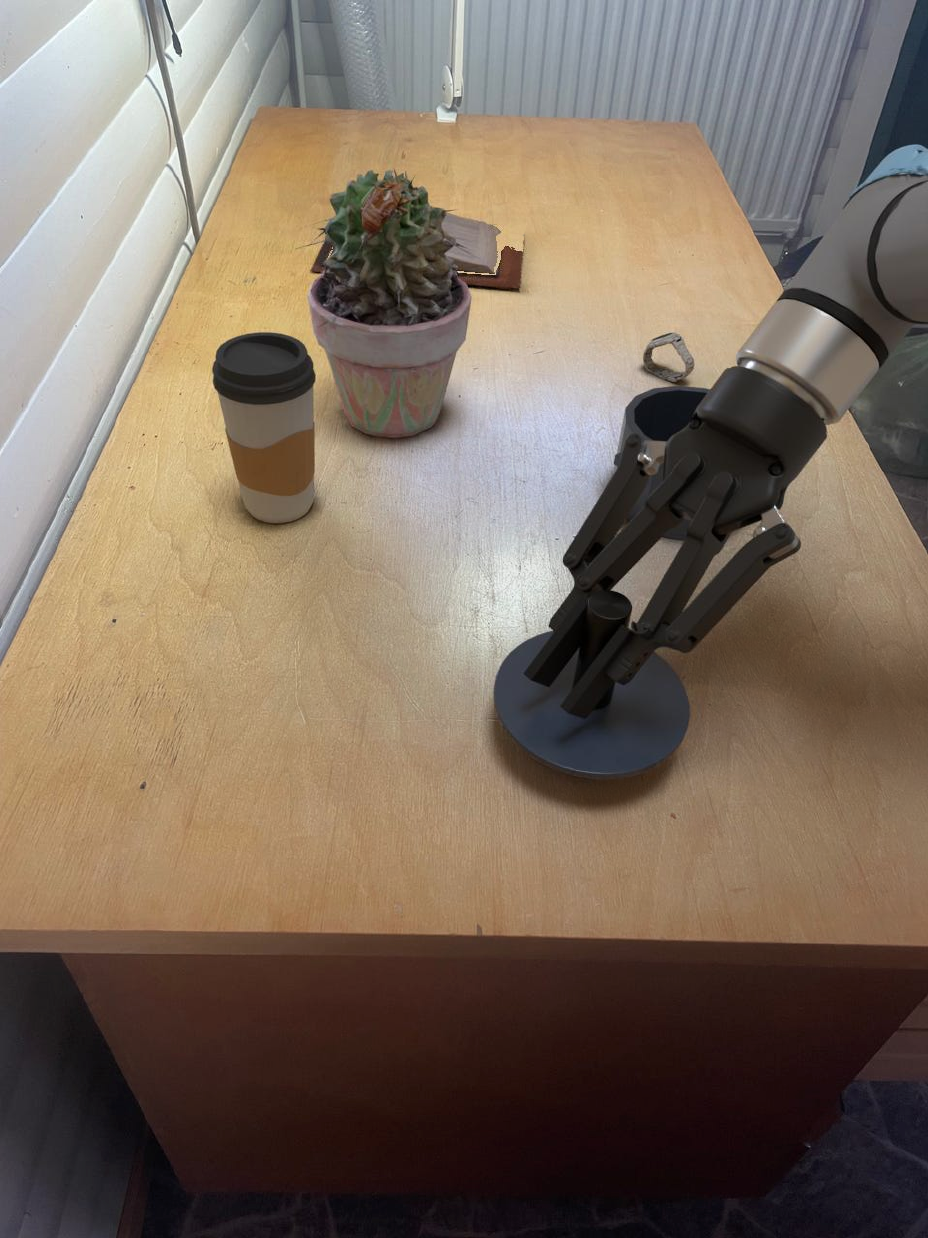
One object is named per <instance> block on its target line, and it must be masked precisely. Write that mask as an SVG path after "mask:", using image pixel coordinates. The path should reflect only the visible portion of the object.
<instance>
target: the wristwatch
mask: <svg viewBox="0 0 928 1238" xmlns="http://www.w3.org/2000/svg"><path fill="white" fill-rule="evenodd" d="M666 345H672V347H673V348H674V350H675V351H676V352H677V354H678V355H679V356H680V358H681V360H682V361H683V363H684V371H681V372H679V371H674V370H670V369H669V368H668V367H665V368H662V367H659V366H658V365H657V364H655V361H654V360H653V358H652V357H653V351H654V350H655V349H656V348H659V347H664V346H666ZM642 362H643V367H644V368H645V370H646V371H647V372H648V373H650V374H652V375H655V376H656V377H658V378H660V379H662V380H664V381H667V382H670V383H671V382H672V383H677V382H679V381H680V380H683V379H685V378H687V377H688V376H689V375H690V374H691V373H692V372H693V371H694V369H695V359H694V357H693V354H692V353H690V351H689V348H688V347H687V345H686V342H685V339H684V337H682V335H681V334H679V333H677V332H667V333H665V334H661V335H658V336H657V337H654V338H652V339H650V341H649V342H648V343H647V345H646V348H645V349H644V351H643V355H642Z"/></svg>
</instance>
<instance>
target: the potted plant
mask: <svg viewBox="0 0 928 1238" xmlns="http://www.w3.org/2000/svg"><path fill="white" fill-rule="evenodd" d="M393 172H394V175H393ZM379 175H380V173H375V172H374V170H373V169H372V170H368V171H367V172H366V173H365V174H364V176H363V174H361V173H357V175H356V180H354V179H353V180H350V181H349V182H348V183H346V188H345V190H344V191H339V192H335V193H332V194H330V197H329V204H330V205H331V207H332V209H333V211H334V213H335V215H334V216H333V217H331V218H328V219H324V220H322V221H319V222H316V223H312V224H310V225H306V226H304V227H302V229H303V228H304V229H305V228H306V227H310V226H313V225H316V224H319V223H322V222H326V221H327V223H326V224H325V226H323V227H319V228H318V230H320V231H322V232H320V234H318V236H316V238H315V240H317V239H318V238H319V237H321V236H322V235H325V236H324V240H320V241H316V242H314V243H313V242H312V243H310V244H307V245H303V246H300V247H295V250H298V249H303V248H305V247H310V246H313V245H317V244H321V243H324V242H325V241H326V242H327V243H328V244H330V245H331V246H333V249H330V250H328V251H331V250H335V252H334V253H333V254H332V255H331V256H330V257H329V258H328V259H327V260H326V261H324V262H323V264H324V266H326V269H325V270H324V271H323V272H320V275H319V276H318V277H316V278H315V279H314V280H313V282H312V283H311V284H310V287H309V291H308V295H307V300H308V306H309V313H310V320H311V325H312V326H311V327H312V331H313V334H314V337H315V339H316V341H317V344H318V345H319V347H321V348H322V349H323V350H324V353H325V355H326V359H327V361H328V364H329V367H330V370H331V374H332V377H333V380H334V383H335V386H336V390H337V393H338V396H339V400H340V401H341V405H342V409H343V412H344V414H345V418H346V419H347V421H348V422H349V424H350V426H351V427H352V428H354V429H355V430H357V431H359V432H362V433H363V434H365V435H368V436H371V437H378V438H387V439H401V438H402V439H403V438H410V437H415V436H417V435H418V434H420V433H422V432H425V431H427V430H429V429H432V427H433V426H435V424H436V423H437V420H438V418H439V415H440V413H441V409H442V407H443V402H444V399H445V397H446V392H447V389H448V385H449V382H450V378H451V374H452V371H453V368H454V364H455V359H456V356H457V353H458V351H459V350H460V348H462V345H463V344H464V343H465V341H466V340H467V333H468V325H469V319H470V311H471V304H472V299H473V295H472V294H471V291H470V289H469V287H468V284H466V283H465V282H463V281H462V280H461V279H459V278H458V276H457V273H458V272H457V268H458V267H457V266H456V265H455V264H453V262H454V260H452V259H451V258H449V257H448V256H446V255H445V254H444V253H446V252H447V251H448V250H450V249H451V248H452V247H453V246H456V247H458V246H459V247H463V248H466V247H464V246H462V245H460V244H458V243H456V239H454V238H456V237H453V238H452V237H451V236H450V235H449V234H448V233H447V231H444V230H442V227H441V226H442V221H443V220H444V218H445V216H446V213H449V212H452V211H454V209H447V210H446V209H445V208H443V207H435V206H433V205H431V204H430V203H429V191H428V190H427V188H426V187H425V186H423V185H421V186H419V187H417V186H415V187H414V186H413V181H414V178H415V177H416V175H413V177H412V179H411V180H410V179H409V178H408V174H407V171H406V170H404V172H402V173H400V174H397V171H396V169H395V168H393V170H391V169H387V170H385V171H384V176H383V178H382V179H379V178H378V177H379ZM394 176H395V177H394ZM457 210H459V209H456V211H457ZM298 230H300V228H299V229H298ZM458 239H460V238H458ZM463 240H465V239H463ZM468 241H469V240H468ZM473 242H474V241H473ZM459 247H458V248H459ZM460 249H461V248H460ZM467 249H468V248H467ZM462 250H463V249H462ZM464 251H465V250H464ZM472 251H473V250H472ZM303 252H304V250H303V251H301V253H303ZM325 252H326V251H325ZM466 252H467V251H466ZM475 252H476V251H475ZM301 253H300V254H299V255H301ZM322 253H323V252H322ZM467 253H469V252H467ZM469 254H471V253H469ZM299 255H297V257H298V256H299ZM471 255H472V254H471ZM473 256H474V255H473ZM297 257H296V258H297ZM475 257H476V256H475ZM478 259H479V258H478ZM480 260H481V259H480ZM459 274H460V273H459ZM461 275H462V274H461Z"/></svg>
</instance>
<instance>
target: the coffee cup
mask: <svg viewBox="0 0 928 1238" xmlns="http://www.w3.org/2000/svg"><path fill="white" fill-rule="evenodd" d="M314 365H315V364H314V361H313V360H312V356H310V354H309V353H308V349H307V347H306V345H305V343H303V342H302V341H301V340H300V339H298V338H295V337H294V336H291V335H288V334H284V333H280V332H279V333H278V332H270V331H267V332H264V331H263V332H260V331H259V332H251V333H244V334H241V335H237V336H235V337H232V338H230V339H228V340H226V341H225V342H223V343H221V344H220V346H219V347H218V348H217V349H216V352H215V360H214V362H213V364H212V368H211V372H212V375H213V376H212V384H213V387H214V389H215V391H216V392H217V397H218V401H219V405H220V409H221V413H222V418H223V421H224V426H225V428H224V429H225V430H224V431H225V434H226V440H227V443H228V448H229V452H230V456H231V460H232V464H233V465H232V466H233V468H234V473H235V476H236V479H237V482H238V485H239V489H240V494H241V499H242V502H243V505H244V508H245V509H246V511H248V513H249V514H250V515H251V516H252V517H254V519H256V520H258V521H261V522H264V523H267V524H268V523H269V524H285V523H290V522H293V521H296V520H298V519H300V518H303V516H305V515H306V514H307V513H308V512H309V511H310V509H311V507H312V505H313V503H314V501H315V470H316V469H315V468H316V467H315V466H316V464H315V463H316V460H315V459H316V457H315V456H316V453H315V450H316V448H315V446H316V445H315V440H316V439H315V437H316V436H315V432H316V431H315V430H316V429H315V424H316V423H315V419H314V418H315V417H314V414H315V413H314V408H315V407H314V385H315V383H316V375H317V374H316V372H315V369H314Z"/></svg>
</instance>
